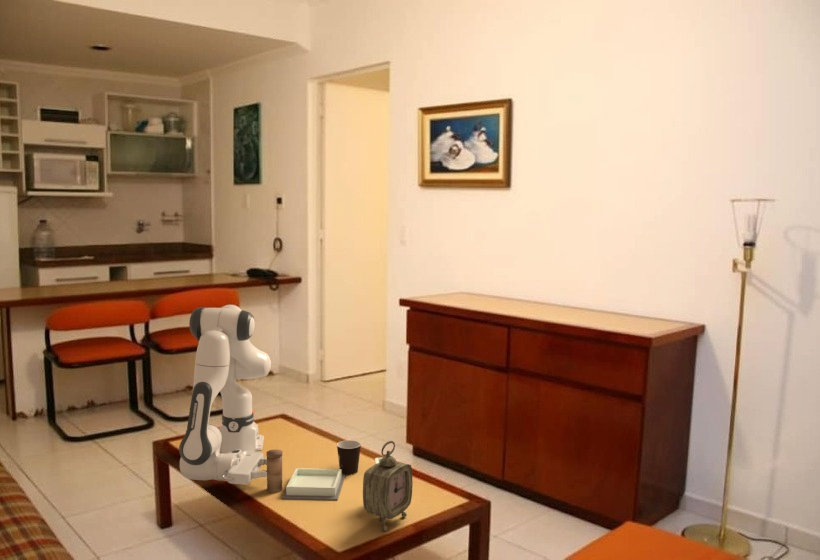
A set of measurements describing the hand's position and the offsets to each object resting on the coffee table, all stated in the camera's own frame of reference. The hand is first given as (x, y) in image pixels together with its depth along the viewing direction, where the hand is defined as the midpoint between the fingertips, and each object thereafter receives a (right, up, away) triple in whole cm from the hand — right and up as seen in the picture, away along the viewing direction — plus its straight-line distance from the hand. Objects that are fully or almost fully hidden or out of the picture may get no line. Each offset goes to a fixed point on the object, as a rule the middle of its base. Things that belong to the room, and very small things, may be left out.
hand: (270, 468), depth 225 cm
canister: (+1, -7, +1) cm, 8 cm away
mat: (+14, -7, +3) cm, 16 cm away
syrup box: (+38, -9, -9) cm, 40 cm away
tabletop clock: (+40, -10, -21) cm, 46 cm away
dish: (+14, -7, +3) cm, 16 cm away
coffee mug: (+25, -6, +19) cm, 32 cm away
